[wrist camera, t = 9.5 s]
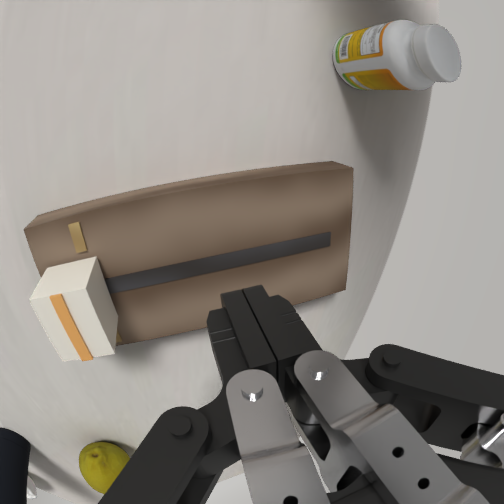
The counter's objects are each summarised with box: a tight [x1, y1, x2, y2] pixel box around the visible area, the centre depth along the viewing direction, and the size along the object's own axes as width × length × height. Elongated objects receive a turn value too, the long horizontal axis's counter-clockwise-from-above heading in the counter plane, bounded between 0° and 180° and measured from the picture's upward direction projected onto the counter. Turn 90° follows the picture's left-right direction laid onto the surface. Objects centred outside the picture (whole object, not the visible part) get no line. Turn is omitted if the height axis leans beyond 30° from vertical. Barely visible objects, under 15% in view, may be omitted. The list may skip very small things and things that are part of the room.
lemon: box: [79, 442, 130, 494], centre depth 27 cm, size 11×8×8 cm
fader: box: [29, 256, 118, 362], centre depth 16 cm, size 5×4×4 cm
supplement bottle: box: [333, 20, 461, 90], centre depth 16 cm, size 5×5×10 cm
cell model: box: [27, 476, 37, 499], centre depth 26 cm, size 10×12×7 cm
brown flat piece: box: [24, 161, 353, 346], centre depth 22 cm, size 11×24×3 cm, turn 95°
